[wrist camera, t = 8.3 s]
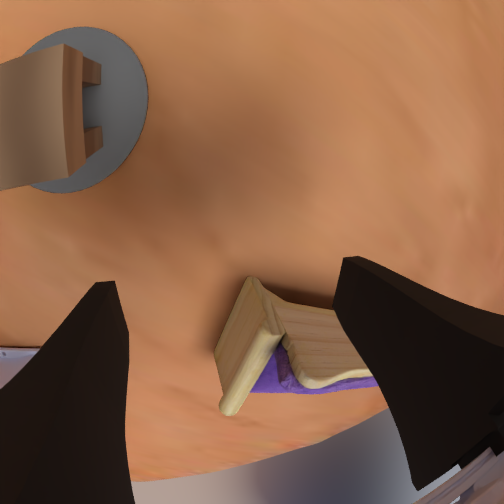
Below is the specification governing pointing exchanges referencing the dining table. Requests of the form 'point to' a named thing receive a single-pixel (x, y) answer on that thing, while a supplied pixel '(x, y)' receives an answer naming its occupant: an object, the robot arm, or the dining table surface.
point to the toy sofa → (283, 350)
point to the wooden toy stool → (45, 116)
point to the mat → (104, 103)
